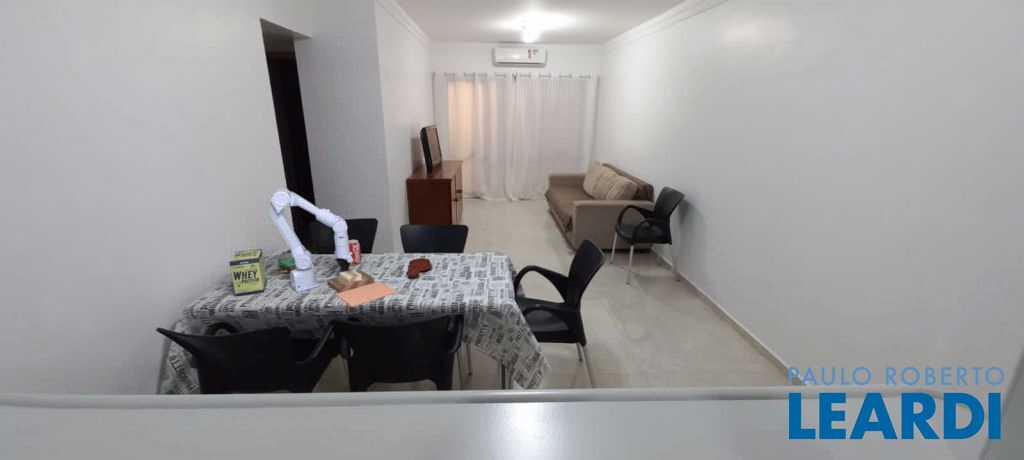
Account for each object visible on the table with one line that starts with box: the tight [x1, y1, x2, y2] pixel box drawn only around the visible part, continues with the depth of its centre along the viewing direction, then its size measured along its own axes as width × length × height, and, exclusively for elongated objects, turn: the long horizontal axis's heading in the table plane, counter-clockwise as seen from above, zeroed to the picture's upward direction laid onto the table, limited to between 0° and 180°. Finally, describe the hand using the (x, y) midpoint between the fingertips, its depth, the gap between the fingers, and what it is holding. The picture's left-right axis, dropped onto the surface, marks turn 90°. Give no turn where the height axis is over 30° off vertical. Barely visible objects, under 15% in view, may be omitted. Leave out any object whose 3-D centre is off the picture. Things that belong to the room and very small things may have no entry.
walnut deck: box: [326, 270, 375, 294], centre depth 186 cm, size 16×13×2 cm
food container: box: [276, 247, 296, 275], centre depth 201 cm, size 12×6×10 cm, turn 179°
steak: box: [405, 257, 433, 280], centre depth 199 cm, size 12×20×4 cm, turn 176°
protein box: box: [228, 248, 268, 297], centre depth 179 cm, size 10×16×16 cm
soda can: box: [348, 239, 362, 266], centre depth 210 cm, size 7×7×12 cm
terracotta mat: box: [335, 281, 398, 307], centre depth 176 cm, size 20×16×1 cm
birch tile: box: [339, 269, 362, 283], centre depth 185 cm, size 6×9×2 cm, turn 45°
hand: (345, 273), depth 189 cm, fingers closed
